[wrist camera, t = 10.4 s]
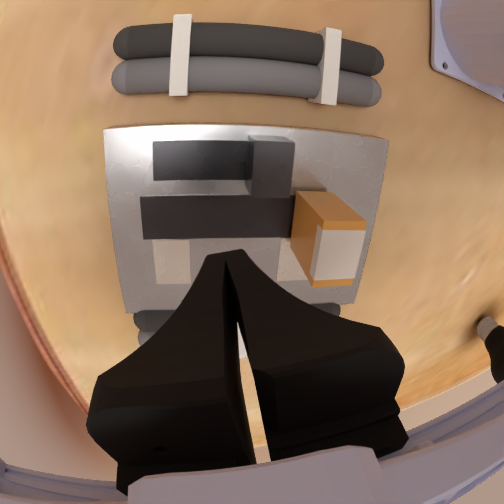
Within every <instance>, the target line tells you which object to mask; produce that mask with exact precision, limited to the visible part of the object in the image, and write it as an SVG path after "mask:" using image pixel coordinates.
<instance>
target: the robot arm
mask: <svg viewBox="0 0 504 504" xmlns="http://www.w3.org/2000/svg"><path fill="white" fill-rule="evenodd" d="M442 64H444V68H443V66H442ZM431 65H432V67H433V69H434V70H436V71H438V72H441V73H443V74H446V75H448V76H450V77H453V78H455V79H457V80H460V81H462V82H464V83H466V84H468V85H470V86H473V87H475V88H477V89H479V90H481V91H483V92H485V93H487V94H489V95H491V96H492V97H494V98H496V99H498V100H500V101H502V102H504V0H432V46H431ZM237 322H238V325H239V329H240V332H241V336H242V339H243V342H244V346H245V349H246V352H247V356H248V359H249V362H250V366H251V369H252V373H253V377H254V381H255V386H256V391H257V396H258V401H259V406H260V411H261V416H262V420H263V425H264V430H265V435H266V440H267V445H268V449H269V454H270V459H271V462H266V463H260V464H257V463H256V458H255V453H254V448H253V443H252V438H251V433H250V427H249V422H248V417H247V411H246V406H245V400H244V394H243V389H242V383H241V374H240V360H239V343H238V325H237ZM404 369H405V364H404V360H403V358H402V356H401V355H400V353H399V352H398V350H397V348H396V347H395V346H394V344H393V343H392V341H391V340H390V339H389V338H388V337H387V335H386V334H385V333H384V332H383V331H382V330H381V328H380V327H376V326H372V325H367V324H363V323H359V322H355V321H351V320H348V319H345V318H342V317H339V316H336V315H333V314H331V313H328V312H326V311H323V310H321V309H319V308H316V307H314V306H312V305H310V304H308V303H306V302H304V301H302V300H300V299H299V298H297V297H295V296H294V295H292V294H291V293H289V292H288V291H286V290H285V289H283V288H282V287H281V286H280V285H278V284H277V283H276V282H274V281H273V280H272V279H271V278H270V277H269V276H268V275H266V274H265V273H264V272H263V271H262V270H261V269H260V268H259V267H258V266H257V265H256V264H255V263H254V262H253V260H252V259H251V258H250V257H249V256H248V254H247V253H246V251H244V250H243V249H237V250H231V251H226V252H220V253H214V254H209V255H207V256H206V257H205V259H204V262H203V264H202V266H201V268H200V271H199V273H198V275H197V277H196V278H195V280H194V282H193V284H192V286H191V287H190V289H189V291H188V292H187V294H186V295H185V297H184V299H183V300H182V302H181V303H180V305H179V306H178V307H177V309H176V310H175V312H174V313H173V314H172V315H171V317H170V318H169V319H168V320H167V321H166V322H165V323H164V325H163V326H162V327H161V328H160V329H159V330H158V331H157V332H156V333H155V334H154V335H153V336H152V337H151V338H150V339H148V340H147V341H146V342H145V343H144V344H143V345H142V346H140V347H139V348H138V349H137V350H136V351H134V352H133V353H132V354H130V355H129V356H128V357H127V358H125V359H124V360H122V361H121V362H119V363H118V364H116V365H115V366H113V367H112V368H110V369H109V370H107V371H106V372H104V373H103V374H101V375H99V376H98V378H97V381H96V384H95V387H94V390H93V394H92V398H91V403H90V407H89V412H88V417H87V423H86V427H87V430H88V433H89V434H90V436H91V437H92V438H93V439H94V441H95V442H96V443H97V444H98V445H99V446H100V447H101V448H102V449H103V450H104V451H106V452H107V453H108V454H109V455H110V456H111V457H112V458H113V459H114V460H115V461H117V462H118V467H117V481H116V482H114V481H100V480H91V479H82V478H74V477H66V476H60V475H54V474H49V473H44V472H39V471H34V470H29V469H24V468H20V467H16V466H12V465H8V464H6V463H5V462H4V461H3V460H2V459H1V458H0V504H449V503H451V502H452V501H454V500H456V499H457V498H459V497H461V496H462V495H464V494H465V493H467V492H469V491H470V490H471V489H473V488H475V487H476V486H477V485H479V484H481V483H482V482H484V481H485V480H486V479H488V478H489V477H491V476H492V475H493V474H495V473H496V472H497V471H499V470H500V469H501V468H502V467H504V380H503V381H501V382H500V383H498V384H497V385H495V386H494V387H492V388H490V389H489V390H487V391H486V392H484V393H482V394H480V395H479V396H477V397H475V398H474V399H472V400H470V401H468V402H466V403H465V404H463V405H461V406H459V407H457V408H455V409H453V410H451V411H449V412H447V413H446V414H444V415H441V416H439V417H437V418H435V419H433V420H431V421H429V422H427V423H425V424H422V425H420V426H418V427H416V428H413V429H411V430H409V431H405V429H404V427H403V425H402V423H401V421H400V419H399V417H398V414H399V413H400V408H399V406H398V404H397V402H396V400H395V396H396V393H397V391H398V388H399V386H400V383H401V380H402V377H403V374H404Z"/></svg>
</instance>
